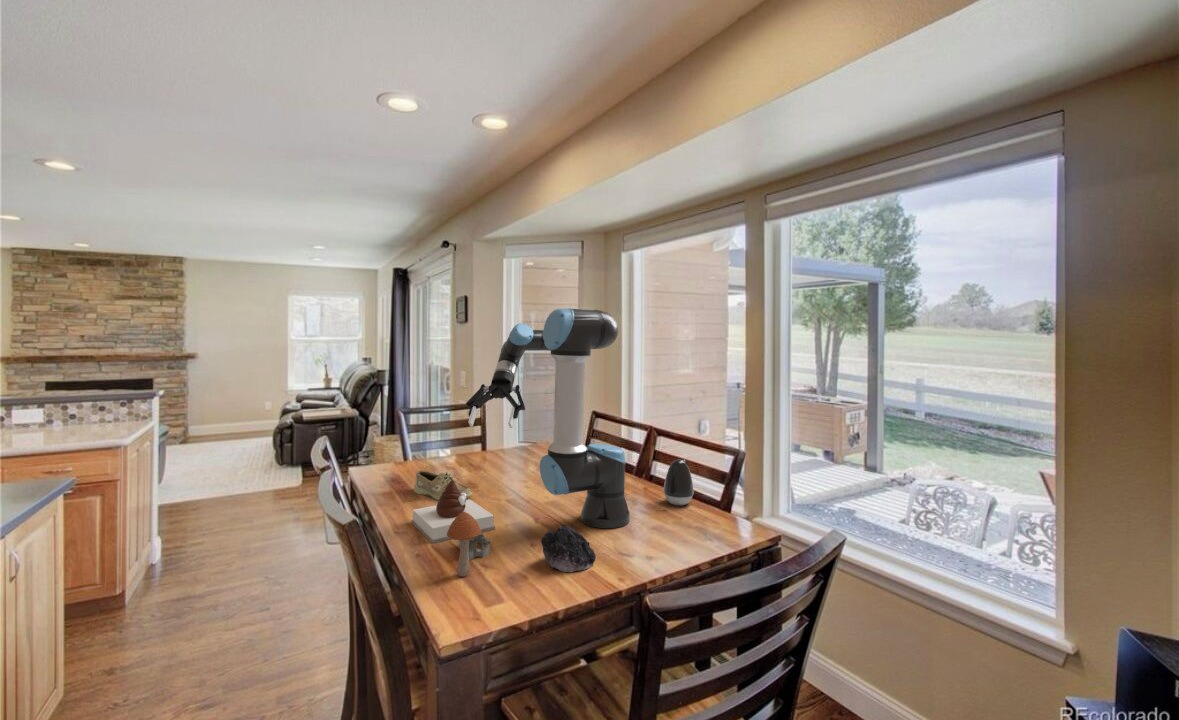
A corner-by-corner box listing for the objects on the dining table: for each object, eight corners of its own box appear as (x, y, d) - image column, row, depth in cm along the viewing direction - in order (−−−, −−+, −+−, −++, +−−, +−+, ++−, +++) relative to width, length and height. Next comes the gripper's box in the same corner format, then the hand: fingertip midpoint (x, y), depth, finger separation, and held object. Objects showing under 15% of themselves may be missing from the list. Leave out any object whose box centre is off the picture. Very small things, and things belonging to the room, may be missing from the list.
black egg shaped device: (697, 501, 178) (698, 458, 177) (686, 510, 169) (687, 464, 168) (670, 496, 183) (671, 454, 182) (658, 504, 174) (659, 460, 174)
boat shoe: (476, 498, 178) (476, 475, 178) (458, 505, 170) (458, 481, 170) (427, 487, 191) (427, 465, 190) (407, 493, 183) (407, 471, 183)
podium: (495, 529, 150) (495, 515, 149) (432, 543, 139) (432, 528, 139) (470, 511, 165) (470, 498, 164) (411, 522, 154) (411, 509, 154)
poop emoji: (439, 507, 156) (439, 477, 156) (468, 506, 157) (468, 476, 157) (433, 519, 146) (433, 486, 146) (464, 518, 147) (464, 486, 147)
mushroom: (469, 563, 127) (470, 503, 126) (487, 574, 121) (488, 512, 121) (440, 573, 121) (440, 511, 121) (457, 585, 116) (457, 520, 115)
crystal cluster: (600, 556, 134) (599, 518, 135) (591, 575, 121) (589, 532, 121) (551, 555, 137) (550, 517, 137) (536, 574, 123) (535, 532, 124)
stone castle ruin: (491, 557, 131) (491, 542, 131) (461, 562, 128) (461, 546, 128) (484, 541, 141) (484, 527, 141) (456, 545, 138) (456, 530, 138)
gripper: (540, 383, 183) (529, 432, 168) (473, 382, 186) (457, 430, 172) (536, 369, 177) (524, 419, 163) (468, 368, 181) (450, 417, 166)
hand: (490, 425), depth 167 cm, fingers open, 13 cm apart
